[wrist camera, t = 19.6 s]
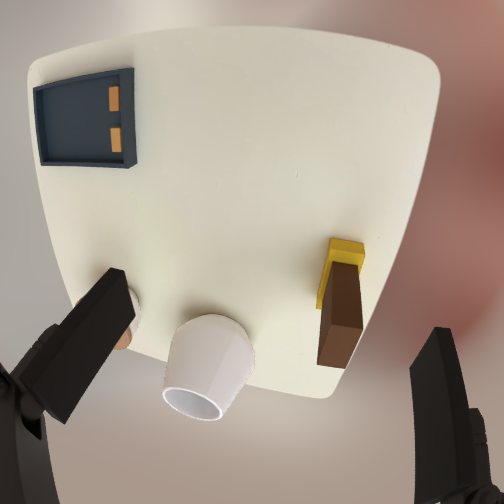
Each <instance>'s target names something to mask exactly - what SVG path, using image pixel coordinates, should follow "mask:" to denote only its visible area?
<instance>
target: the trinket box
mask: <svg viewBox="0 0 504 504" xmlns="http://www.w3.org/2000/svg"><path fill="white" fill-rule="evenodd" d="M128 288H129V287H128ZM129 292H130V296H131V299H132V303H133V307H134V310H135V314H136V316H135V318H134V319H133V321H132V322H131V324H130V325H129V326H128V328H127V329H126V331H125V332H124V334H123V335H122V337H121V338H120V340H119V341H118V342H117V344H116V345H115V347H114V348H113V349H117V350H121V349H125V348H127V347H128V346H129V344H130V342H131V340H132V338H133V336H134V335H135V333H136V331H137V329H138V326H139V323H140V317H141V312H140V306H139V301H138V298H137V296H136V294H135V293H134V292H133V290H132V289H130V288H129ZM87 293H88V292H87ZM87 293H86V294H87ZM86 294H85V295H86ZM85 295H84V296H85ZM84 296H83V297H84ZM83 297H82V298H83ZM82 298H81V299H82ZM81 299H80V300H81ZM80 300H79V301H78V302H77V303H76V305H77V304H78V303H79V302H80ZM76 305H75V306H76Z"/></svg>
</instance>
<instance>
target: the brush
mask: <svg viewBox="0 0 504 504" xmlns="http://www.w3.org/2000/svg"><path fill="white" fill-rule="evenodd" d="M364 258H365V250H364V244H363V243H357V242H352V241H346V240H341V239H335V238H331V239H330V244H329V248H328V253H327V257H326V262H325V266H324V270H323V274H322V279H321V283H320V287H319V291H318V295H317V304H316V309H322V311H321V324H320V336H319V347H318V357H317V365H322V366H328V367H335V368H343V369H345V368H346V366H347V364H348V362H349V360H350V358H351V356H352V353H353V351H354V349H355V347H356V345H357V342H358V340H359V338H360V336H361V333H362V331H363V317H362V304H361V292H360V281H359V274H360V271H361V268H362V264H363V261H364Z"/></svg>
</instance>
